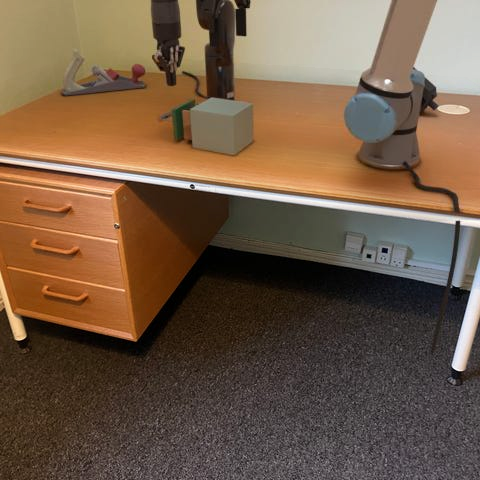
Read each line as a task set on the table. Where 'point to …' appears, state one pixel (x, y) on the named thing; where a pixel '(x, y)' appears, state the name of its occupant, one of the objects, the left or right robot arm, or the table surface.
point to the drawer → (180, 119)
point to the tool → (428, 95)
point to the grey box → (222, 125)
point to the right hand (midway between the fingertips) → (228, 41)
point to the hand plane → (105, 80)
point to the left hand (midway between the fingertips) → (171, 85)
